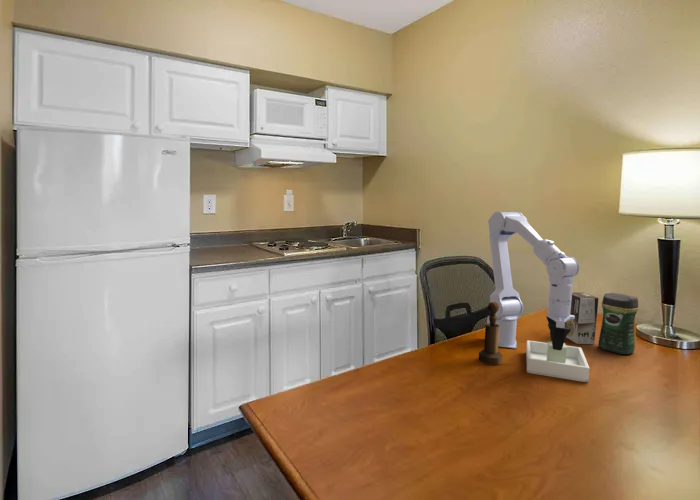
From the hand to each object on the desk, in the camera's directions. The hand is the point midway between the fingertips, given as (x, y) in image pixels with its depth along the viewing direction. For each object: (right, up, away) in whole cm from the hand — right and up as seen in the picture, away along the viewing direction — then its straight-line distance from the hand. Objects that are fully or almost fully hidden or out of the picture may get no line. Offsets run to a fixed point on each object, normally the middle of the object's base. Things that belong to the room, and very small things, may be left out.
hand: (556, 345), depth 119 cm
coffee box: (+20, -4, +25) cm, 32 cm away
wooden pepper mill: (-18, -6, +4) cm, 19 cm away
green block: (0, -6, +1) cm, 6 cm away
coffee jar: (+27, -5, +15) cm, 32 cm away
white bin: (0, -6, +1) cm, 6 cm away
